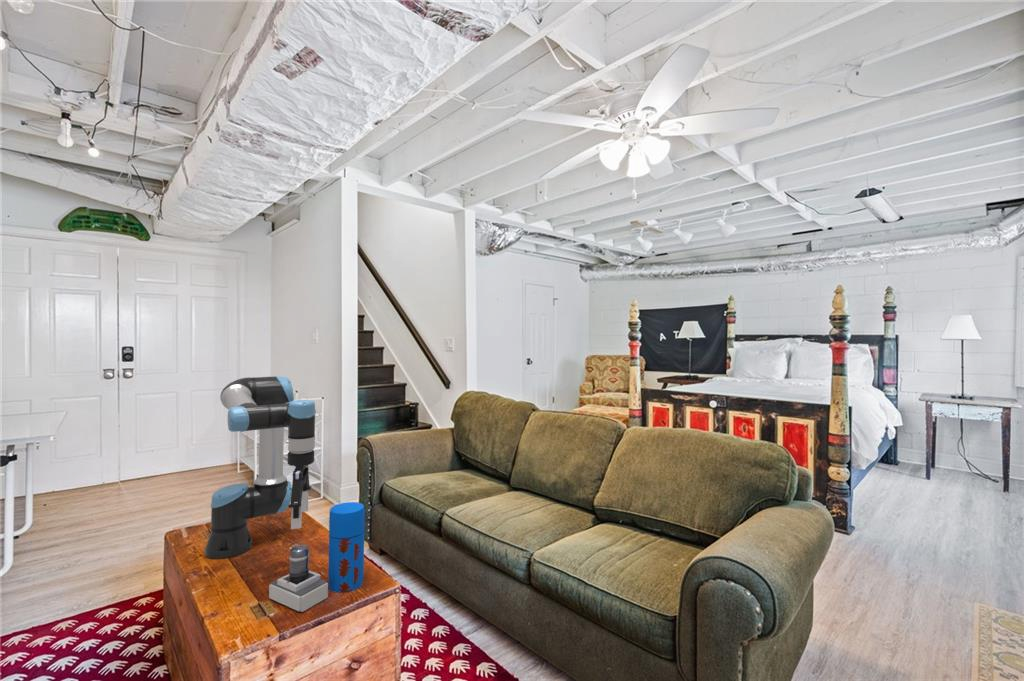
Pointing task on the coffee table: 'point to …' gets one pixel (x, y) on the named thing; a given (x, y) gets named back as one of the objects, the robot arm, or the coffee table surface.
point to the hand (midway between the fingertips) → (299, 519)
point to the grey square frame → (299, 591)
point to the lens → (299, 564)
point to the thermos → (346, 547)
